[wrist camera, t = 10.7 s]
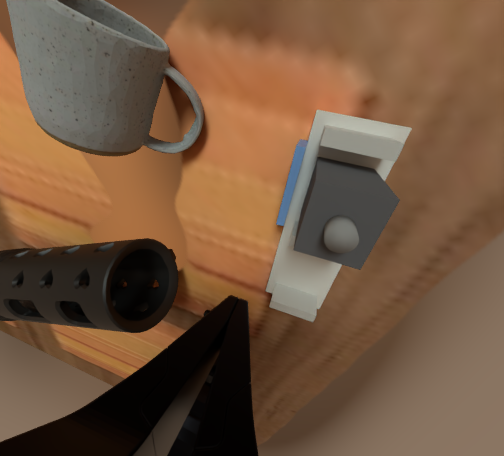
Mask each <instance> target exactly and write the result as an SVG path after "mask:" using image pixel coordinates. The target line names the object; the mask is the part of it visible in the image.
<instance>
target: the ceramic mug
mask: <svg viewBox="0 0 504 456" xmlns="http://www.w3.org/2000/svg"><path fill="white" fill-rule="evenodd" d="M6 1H7V5H8V10H9V14H10V20H11V25H12V31H13V37H14V41H15V46H16V51H17V56H18V60H19V64H20V70H21V76H22V82H23V87H24V91H25V96H26V99H27V102H28V104H29V107H30V110H31V112H32V114H33V116H34V118H35V120H36V122H37V124H38V125H39V126H40V127H41V128H42V129H43V130H44V132H45V133H47V134H48V135H49V136H51V137H52V138H54V139H55V140H57V141H59V142H61V143H63V144H65V145H66V146H69V147H71V148H74V149H77V150H80V151H83V152H86V153H90V154H95V155H102V156H123V155H128V154H131V153H133V152H136V151H137V150H139V149H140V148H141V146H142V145H145V146H147V147H148V148H151V149H153V150H155V151H159V152H162V153H178V152H182V151H184V150H186V149H188V148H190V147H191V146H192V145H193V144H194V142H195V141H196V140H197V138H198V136H199V134H200V132H201V129H202V125H203V121H204V111H203V106H202V103H201V100H200V98H199V96H198V94H197V92H196V90H195V89H194V88H193V86H192V85H191V84H190V83H189V82H188V80H187V79H186V78H185V77H184V76H183V75H181V74H180V73H179V72H178V71H177V70H176V69H175V68H173V67H172V66H170V64H169V63H168V60H169V53H170V51H169V47H168V45H167V44H166V43H165V42H164V41H163V40H162V39H161V38H160V37H159V36H157V35H156V34H155V33H153V32H152V31H151V30H150V29H149V28H147V27H146V26H145V25H143V24H141V23H140V22H138V21H137V20H135V19H134V18H133V17H131V16H129V15H127V14H126V13H124V12H123V11H121V10H119V9H117V8H116V7H114V6H113V5H111V4H109V3H108V2H106V1H104V0H6ZM164 75H167V76H169V77H170V78H171V79H173V80H174V82H175V83H176V84H178V85H179V87H180V88H181V89H182V90H183V91H184V92H185V93H186V94H187V96H188V97H189V99H190V101H191V103H192V105H193V107H194V111H195V113H196V119H195V121H194V123H193V125H192V127H191V129H190V131H189V132H188V133H187V134H185V135H184V138H183V141H182V142H178V143H170V142H164V141H161V140H158V139H155V138H153V137H151V136H149V131H150V128H151V124H152V118H153V112H154V109H155V106H156V103H157V99H158V96H159V93H160V89H161V86H162V84H163V79H164Z"/></svg>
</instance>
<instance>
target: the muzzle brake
mask: <svg viewBox="0 0 504 456" xmlns="http://www.w3.org/2000/svg"><path fill="white" fill-rule="evenodd" d="M175 259H176V256H175V254H174V252H173V250H172V249H168V248H167V247H166V246H165V245H163V244H162V243H161V242H158V241H156V240H154V239H148V238H147V239H136V240H125V241H115V242H105V243H95V244H84V245H74V246H64V247H53V248H43V249H30V248H23V249H11V250H3V251H0V321H15V320H23V321H31V322H40V323H49V324H58V325H67V326H76V327H85V328H93V329H102V330H111V331H120V332H129V333H140V332H143V331H147V330H149V329H151V328H152V327H154V326H155V325H157V324H158V323H159V322H160V321H161V320H162V319H163V318H164V317H165V316H166V314H167V313H168V311H169V310H170V308H171V306H172V304H173V302H174V299H175V296H176V293H177V287H178V270H177V265H176V262H175ZM155 280H156V281H157V282H158V283H159V287H154V288H153V283H154V282H155ZM125 281H126V282H127V287H123V284H124V282H125ZM144 310H145V311H144Z"/></svg>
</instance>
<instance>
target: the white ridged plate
mask: <svg viewBox="0 0 504 456" xmlns="http://www.w3.org/2000/svg"><path fill="white" fill-rule="evenodd" d="M411 129H412V128H409V127H404V126H399V125H394V124H389V123H383V122H378V121H373V120H368V119H363V118H358V117H353V116H348V115H342V114H337V113H332V112H327V111H322V110H317V111H316V115H315V118H314V122H313V126H312V129H311V133H310V136H309V140H308V141H306V140H302V139H300V141H299V142H298V144H297V146H296V149H295V153H294V157H293V161H292V165H291V169H290V173H289V176H288V180H287V184H286V188H285V192H284V196H283V200H282V204H281V207H280V211H279V215H278V219H277V223H276V224H277V225H281V226H284V228H283V231H282V235H281V238H280V242H279V246H278V249H277V253H276V256H275V260H274V263H273V267H272V270H271V274H270V277H269V281H268V284H267V288H266V292H269V293H272V298H271V302H270V306H269V307H270V308H273V309H276V310H279V311H282V312H285V313H288V314H291V315H294V316H296V317H299V318H302V319H305V320H308V321H311V322H313V321H314V319H315V317H316V310H317V309H320V307H321V305H322V303H323V301H324V299H325V297H326V295H327V293H328V291H329V289H330V287H331V285H332V283H333V281H334V279H335V277H336V275H337V273H338V271H339V270H340V268H341V266H342V264H338V263H335V262H332V261H328V260H325V259H321V258H318V257H315V256H311V255H308V254H304V253H301V252H297V251H294V250H293V249H294V244H295V239H296V234H297V229H298V224H299V219H300V214H301V209H302V206H303V203H304V199H305V196H306V193H307V190H308V187H309V183H310V180H311V177H312V174H313V170H314V167H315V164H316V161H317V157H323V158H327V159H332V160H337V161H341V162H346V163H350V164H355V165H359V166H364V167H369V168H373V169H375V170H376V171H377V173H378V174H379V175H380V176H381V178H382V179H383V180H384V181H385V180H386V178H387V176H388V174H389V172H390V170H391V168H392V166H393V164H394V162H396V160H397V158H398V156H399V154H400V152H401V150H402V148H403V146H404V143H405V141H406V139H407V137H408V135H409V133H410V131H411ZM285 220H286V221H285ZM284 223H285V224H284Z"/></svg>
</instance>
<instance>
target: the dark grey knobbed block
mask: <svg viewBox="0 0 504 456" xmlns="http://www.w3.org/2000/svg"><path fill="white" fill-rule="evenodd" d="M399 201H400V200H399V199H398V197H397V196H396V195H395V194H394V193H393V191H392V190H391V189H390V188H389V186H388V185H387V184H386V183H385V181H384V180H383V179H382V178H381V176H380V175H379V174H378V173H377V171H376V170H375V169H373V168H369V167H364V166H359V165H355V164H350V163H346V162H341V161H337V160H332V159H327V158H323V157H317V161H316V164H315V167H314V170H313V174H312V177H311V180H310V183H309V187H308V190H307V193H306V196H305V199H304V203H303V206H302V209H301V214H300V219H299V224H298V229H297V234H296V239H295V244H294V249H293V250H294V251H297V252H301V253H304V254H308V255H311V256H315V257H318V258H321V259H325V260H328V261H332V262H335V263H338V264H342V265H345V266H349V267H352V268H356V269H359V270H360V269H361V268H362V266H363V264H364V262H365V261H366V259H367V257H368V255H369V254H370V252H371V250H372V248H373V246H374V245H375V243H376V241H377V239H378V238H379V236H380V234H381V232H382V231H383V229H384V227H385V225H386V224H387V222H388V220H389V218H390V217H391V215H392V213H393V211H394V210H395V208H396V206H397V204H398V203H399Z"/></svg>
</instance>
